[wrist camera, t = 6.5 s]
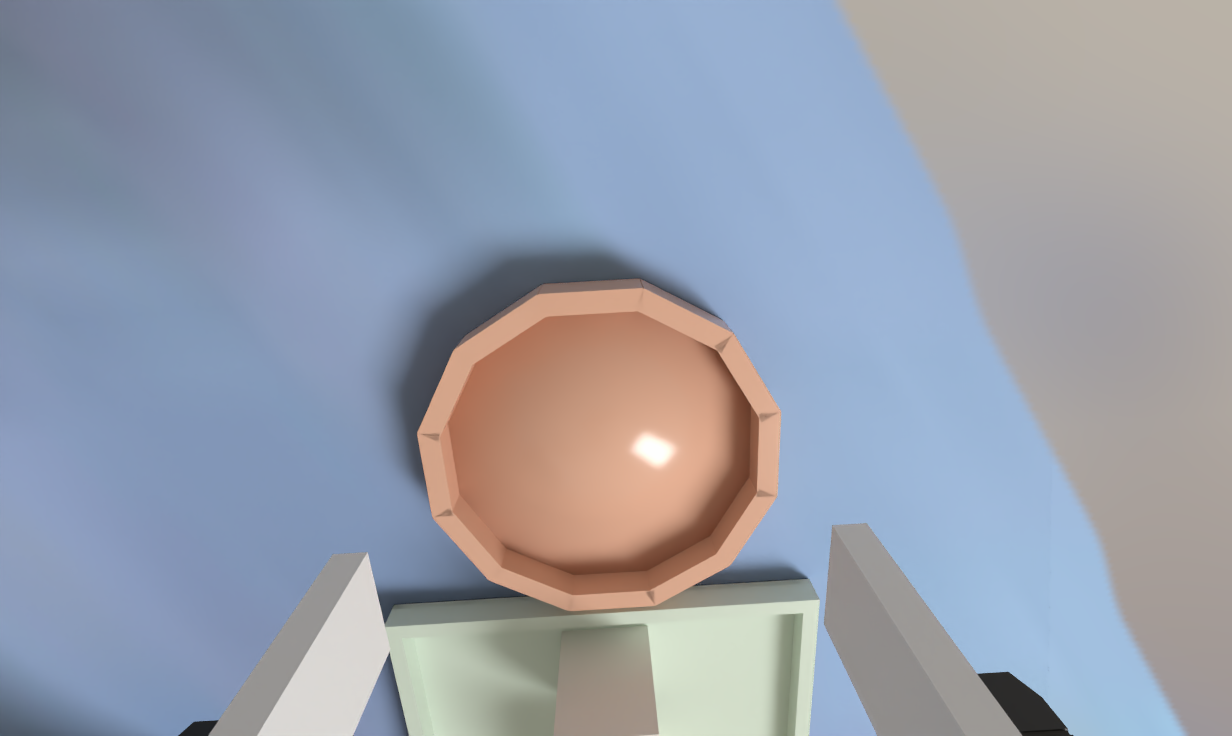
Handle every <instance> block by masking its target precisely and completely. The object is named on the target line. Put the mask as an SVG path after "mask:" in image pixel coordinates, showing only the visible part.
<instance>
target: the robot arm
mask: <svg viewBox="0 0 1232 736" xmlns="http://www.w3.org/2000/svg"><path fill="white" fill-rule="evenodd" d="M824 625H825V627H826V629H827V631H828V634H829V636H830V638H831V640H832V642H833V644H834V646H835V648H836V650H837V652H838V654H839V657H840V659H841V661H842V663H843V665H844V667H845V669H846V671H847V673H848V675H849V677H850V679H851V682H852V684H853V686H854V688H855V690H856V692H857V694H858V696H859V698H860V700H861V702H862V704H863V707H864V709H865V711H866V713H867V715H868V717H869V719H870V721H871V723H872V725H873V727H874V729H875V732H876V734H877V736H1073V735H1070V734H1069V733H1068V728H1067V727H1066V726H1065V725H1064V724H1063V722H1062V721H1061V720H1060V719H1059V718H1058V716H1057V715H1056V714H1055V713H1054V711H1053V710H1052V709H1051V708H1050V707H1049V705H1048V704H1047V703H1046V702H1045V700H1044V699H1043V698H1042V697H1041V696H1039V695H1038V694H1037V693H1035V692H1034V691H1033V690H1032V689H1030V688H1029V687H1028V686H1026V685H1025V684H1024V683H1022V682H1021V681H1020V680H1018V679H1017V678H1016V677H1014V676H1013V675H1012V674H1010V673H1009V672H999V673H982V674H977V673H976V672H975V670H974V669H973V668H972V666H971V665H970V664H969V662H968V661H967V659H966V658H965V657H964V655H963V654H962V653H961V651H960V650H959V649H958V647H957V646H956V644H955V643H954V642H953V640H952V639H951V638H950V636H949V635H948V634H947V632H946V631H945V629H944V628H943V627H942V625H941V624H940V623H939V621H938V620H937V618H936V617H935V616H934V614H933V613H932V612H931V610H930V609H929V608H928V606H927V605H926V603H925V602H924V601H923V599H922V598H921V597H920V595H919V594H918V593H917V591H916V590H915V588H914V587H913V586H912V584H911V583H910V582H909V580H908V579H907V578H906V576H905V575H904V573H903V572H902V571H901V569H900V568H899V567H898V565H897V564H896V563H895V561H894V560H893V558H892V557H891V556H890V554H889V553H888V552H887V550H886V549H885V547H884V546H883V545H882V543H881V542H880V541H879V539H878V538H877V537H876V535H875V534H874V532H873V531H872V530H871V528H870V527H869V526H868V524H867V523H864V524H847V525H832V535H831V547H830V558H829V570H828V582H827V593H826V605H825V617H824ZM389 651H390V646H389V641H388V637H387V633H386V629H385V624H384V620H383V616H382V612H381V607H380V603H379V599H378V595H377V590H376V586H375V582H374V578H373V574H372V569H371V565H370V561H369V557H368V552H365V553H348V554H333V555H332V556H331V558H330V559H329V561H328V562H327V564H326V565H325V566H324V568H323V569H322V571H321V572H320V574H319V575H318V577H317V578H316V580H315V581H314V582H313V584H312V585H311V587H310V588H309V590H308V591H307V593H306V594H305V596H304V597H303V598H302V600H301V601H300V603H299V604H298V606H297V607H296V609H295V610H294V612H293V613H292V614H291V616H290V617H289V619H288V620H287V622H286V623H285V625H284V626H283V628H282V629H281V631H280V632H279V633H278V635H277V636H276V638H275V639H274V641H273V642H272V644H271V645H270V647H269V648H268V649H267V651H266V652H265V654H264V655H263V657H262V658H261V660H260V661H259V663H258V664H257V665H256V667H255V668H254V670H253V671H252V673H251V674H250V676H249V677H248V679H247V680H246V681H245V683H244V684H243V686H242V687H241V689H240V690H239V692H238V693H237V695H236V696H235V697H234V699H233V700H232V702H231V703H230V705H229V706H228V708H227V709H226V711H225V712H224V713H223V715H222V716H221V718H220V719H219V720H216V721H199V722H193V723H192V724H191V725H190V726H189V727H188V728H187V729H185V730H184V731H183V732H182V733H181V734H180V735H179V736H353V734H354V732H355V730H356V727H357V725H358V723H359V720H360V718H361V716H362V713H363V711H364V709H365V707H366V704H367V702H368V700H369V697H370V695H371V693H372V691H373V688H374V686H375V684H376V681H377V679H378V677H379V674H380V672H381V670H382V668H383V665H384V663H385V661H386V658H387V656H388V654H389Z"/></svg>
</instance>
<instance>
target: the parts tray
mask: <svg viewBox="0 0 1232 736" xmlns="http://www.w3.org/2000/svg"><path fill="white" fill-rule="evenodd" d="M819 602H820V599H819V597H818V595H817V594H816V592H815V590H814V588H813V586H812V584H811V582H810V580H809V579H798V580H782V581H766V582H750V583H734V584H718V585H702V586H691V587H689V588H688V589H686V590H684V591H682V592H680V593H678V594H676V595H675V596H673V597H671V598H669V599H667V600H665V601H663V602H662V603H660V604H658V605H655V606H646V607H630V608H614V609H598V610H583V611H570V610H569V611H567V610H564V609H562V608H559V607H556V606H554V605H551V604H549V603H546V602H543V601H541V600H538V599H536V598H533V597H530V596H527V597H511V598H495V599H479V600H463V601H447V602H431V603H415V604H399V605H394V606H393V608H392V610H391V613H390V615H389V617H388V619H387V621H386V623H385V629H386V633H387V637H388V641H389V646H390V651H389V652H390V656H391V661H392V665H393V669H394V673H395V678H396V682H397V686H398V690H399V695H400V699H401V703H402V708H403V712H404V716H405V720H406V725H407V729H408V733H409V736H554V723H555V711H556V698H557V685H558V673H559V660H560V648H561V635H562V631H572V630H587V629H603V628H619V627H635V626H648V635H649V644H650V653H651V663H652V672H653V682H654V691H655V701H656V710H657V719H658V729H659V736H809V728H810V716H811V703H812V690H813V678H814V665H815V653H816V640H817V627H818V615H819Z"/></svg>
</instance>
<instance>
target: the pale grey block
mask: <svg viewBox="0 0 1232 736" xmlns="http://www.w3.org/2000/svg"><path fill="white" fill-rule="evenodd" d="M554 736H659V729H658V719H657V710H656V701H655V691H654V682H653V672H652V663H651V653H650V644H649V635H648V626H635V627H619V628H603V629H587V630H572V631H562V635H561V648H560V660H559V673H558V685H557V698H556V711H555V723H554Z"/></svg>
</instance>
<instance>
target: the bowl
mask: <svg viewBox="0 0 1232 736" xmlns="http://www.w3.org/2000/svg"><path fill="white" fill-rule="evenodd" d="M780 426H781V411H780V409H779V407H778V406H777V404H776V402H775V401H774V399H773V398H772V396H771V394H770V393H769V391H768V389H767V388H766V386H765V384H764V383H763V381H762V379H761V378H760V376H759V374H758V373H757V371H756V369H755V368H754V366H753V364H752V363H751V361H750V359H749V358H748V356H747V354H746V353H745V351H744V350H743V348H742V346H741V345H740V343H739V341H738V340H737V338H736V336H735V335H734V333H733V332H732V331H731V329H730V328H729V327H728V326H727V324H726V323H725V322H724V321H723V320H721V319H719V318H717V317H715V316H713V315H711V314H709V313H707V312H705V311H703V310H701V309H699V308H698V307H696V306H694V305H692V304H690V303H688V302H686V301H684V300H682V299H680V298H678V297H676V296H674V295H672V294H670V293H668V292H666V291H664V290H662V289H660V288H658V287H656V286H654V285H652V284H650V283H648V282H646V281H644V280H642V279H639V278H637V279H620V280H603V281H585V282H568V283H551V284H543V285H540V286H539V287H537V288H536V289H534V290H533V291H531V292H530V293H528V294H527V295H525V296H524V297H522V298H521V299H519V300H518V301H516V302H515V303H513V304H512V305H510V306H509V307H507V308H506V309H504V310H503V311H501V312H500V313H498V314H497V315H495V316H494V317H492V318H491V319H489V320H488V321H486V322H485V323H483V324H482V325H480V326H479V327H477V328H476V329H474V330H473V331H471V332H470V333H468V334H467V335H465V336H464V338H463V339H462V340H461V341H460V343H459V344H458V345H457V346H456V348H455V349H454V350H453V352H452V355H451V357H450V359H449V362H448V364H447V366H446V368H445V371H444V373H443V375H442V378H441V380H440V382H439V384H438V387H437V389H436V391H435V394H434V396H433V398H432V400H431V403H430V405H429V407H428V409H427V412H426V414H425V416H424V419H423V421H422V423H421V425H420V428H419V430H418V432H417V437H418V442H419V448H420V453H421V459H422V464H423V469H424V475H425V480H426V486H427V491H428V497H429V502H430V507H431V513H432V517H433V519H434V520H435V521H436V522H437V523H438V524H439V526H440V527H441V528H442V529H443V530H444V531H445V532H446V533H447V534H448V536H449V537H450V538H451V539H452V540H453V541H454V542H455V543H456V544H457V546H458V547H459V548H460V549H461V550H462V551H463V552H464V553H465V555H466V556H467V557H468V558H469V559H470V560H471V561H472V562H473V563H474V565H475V566H476V567H477V568H478V569H479V570H480V571H481V572H482V573H483V575H484V576H485V577H486V578H487V579H488V580H489V581H491V582H494V583H496V584H499V585H502V586H504V587H507V588H509V589H512V590H515V591H517V592H520V593H523V594H525V595H528V596H530V597H533V598H536V599H538V600H541V601H543V602H546V603H549V604H551V605H554V606H556V607H559V608H562V609H564V610H567V611H569V610H570V611H583V610H598V609H614V608H630V607H646V606H655V605H658V604H660V603H662V602H663V601H665V600H667V599H669V598H671V597H673V596H675V595H676V594H678V593H680V592H682V591H684V590H686V589H688V588H689V587H691V586H693V585H695V584H697V583H699V582H701V581H702V580H704V579H706V578H708V577H710V576H712V575H714V574H715V573H717V572H719V571H721V570H723V569H725V568H727V567H728V566H730V565H731V564H732V562H733V561H734V559H735V558H736V556H737V555H738V553H739V552H740V550H741V549H742V548H743V546H744V545H745V543H746V542H747V540H748V539H749V537H750V536H751V534H752V533H753V531H754V530H755V528H756V527H757V525H758V524H759V523H760V521H761V520H762V518H763V517H764V515H765V514H766V512H767V511H768V509H769V508H770V506H771V505H772V503H773V502H774V501H775V499H776V498H777V491H778V469H779V447H780Z"/></svg>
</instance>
